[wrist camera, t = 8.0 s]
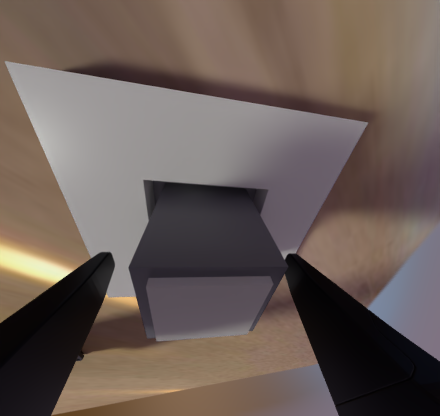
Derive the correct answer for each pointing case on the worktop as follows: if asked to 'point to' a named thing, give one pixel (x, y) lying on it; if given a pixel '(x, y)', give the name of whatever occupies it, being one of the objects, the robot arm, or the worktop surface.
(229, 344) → the worktop surface
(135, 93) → the socket block
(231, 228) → the plug
